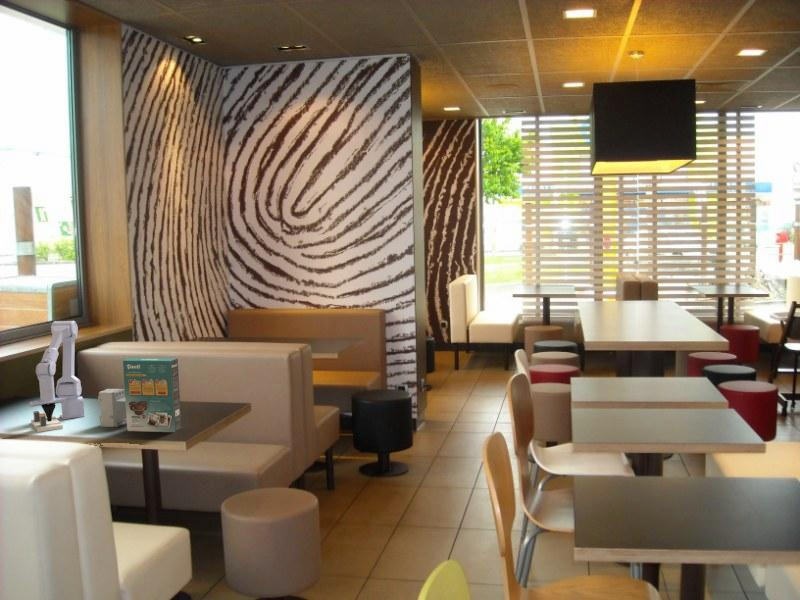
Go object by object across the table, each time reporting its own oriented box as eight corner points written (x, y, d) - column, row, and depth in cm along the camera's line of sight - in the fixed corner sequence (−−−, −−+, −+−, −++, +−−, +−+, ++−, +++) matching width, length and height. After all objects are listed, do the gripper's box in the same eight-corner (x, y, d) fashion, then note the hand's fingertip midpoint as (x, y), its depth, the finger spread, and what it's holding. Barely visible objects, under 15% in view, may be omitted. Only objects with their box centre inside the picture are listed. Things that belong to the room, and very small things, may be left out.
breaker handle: (44, 423, 370) (44, 413, 369) (46, 425, 366) (45, 414, 366) (39, 424, 369) (39, 413, 368) (41, 425, 365) (40, 415, 365)
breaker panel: (55, 419, 384) (54, 407, 383) (62, 428, 367) (61, 416, 366) (31, 423, 379) (30, 411, 378) (37, 432, 362) (36, 419, 361)
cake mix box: (181, 428, 360) (177, 358, 357) (174, 432, 354) (170, 360, 351) (134, 427, 365) (130, 358, 362) (127, 430, 359) (122, 360, 356)
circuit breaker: (130, 427, 366) (128, 392, 364) (100, 426, 369) (97, 392, 367) (139, 422, 373) (136, 389, 372) (109, 422, 376) (107, 388, 374)
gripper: (30, 393, 360) (32, 425, 361) (66, 389, 368) (68, 420, 369) (27, 391, 366) (30, 422, 367) (63, 386, 374) (65, 417, 375)
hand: (49, 421), depth 369 cm, fingers closed
